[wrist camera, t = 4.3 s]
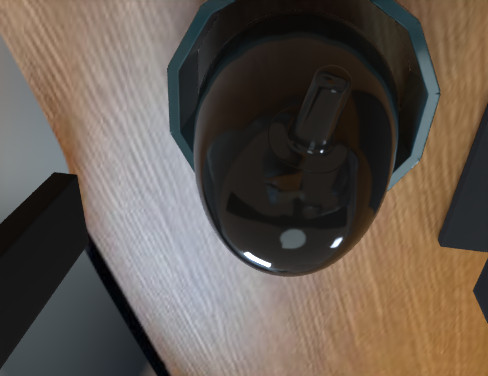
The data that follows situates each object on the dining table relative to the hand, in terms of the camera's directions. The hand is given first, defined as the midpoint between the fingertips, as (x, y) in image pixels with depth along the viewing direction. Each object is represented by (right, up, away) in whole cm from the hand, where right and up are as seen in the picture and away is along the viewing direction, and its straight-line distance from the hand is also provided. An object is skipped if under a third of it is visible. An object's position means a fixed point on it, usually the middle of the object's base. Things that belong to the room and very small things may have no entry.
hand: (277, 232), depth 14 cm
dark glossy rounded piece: (+2, +8, +13) cm, 15 cm away
